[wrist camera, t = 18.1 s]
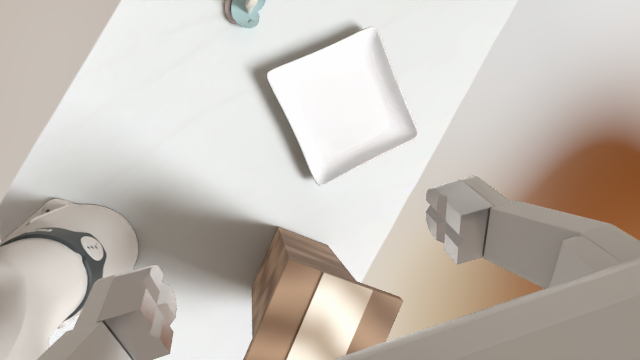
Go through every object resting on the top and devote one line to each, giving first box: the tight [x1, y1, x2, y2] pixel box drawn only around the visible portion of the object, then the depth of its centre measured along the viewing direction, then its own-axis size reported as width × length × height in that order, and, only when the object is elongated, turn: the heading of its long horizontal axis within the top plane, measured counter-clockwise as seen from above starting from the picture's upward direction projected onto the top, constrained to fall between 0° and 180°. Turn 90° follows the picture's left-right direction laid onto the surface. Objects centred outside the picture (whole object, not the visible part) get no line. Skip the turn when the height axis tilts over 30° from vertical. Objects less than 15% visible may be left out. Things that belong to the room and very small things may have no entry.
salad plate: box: [266, 27, 418, 186], centre depth 60 cm, size 21×21×3 cm
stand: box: [243, 227, 403, 360], centre depth 49 cm, size 15×14×26 cm
